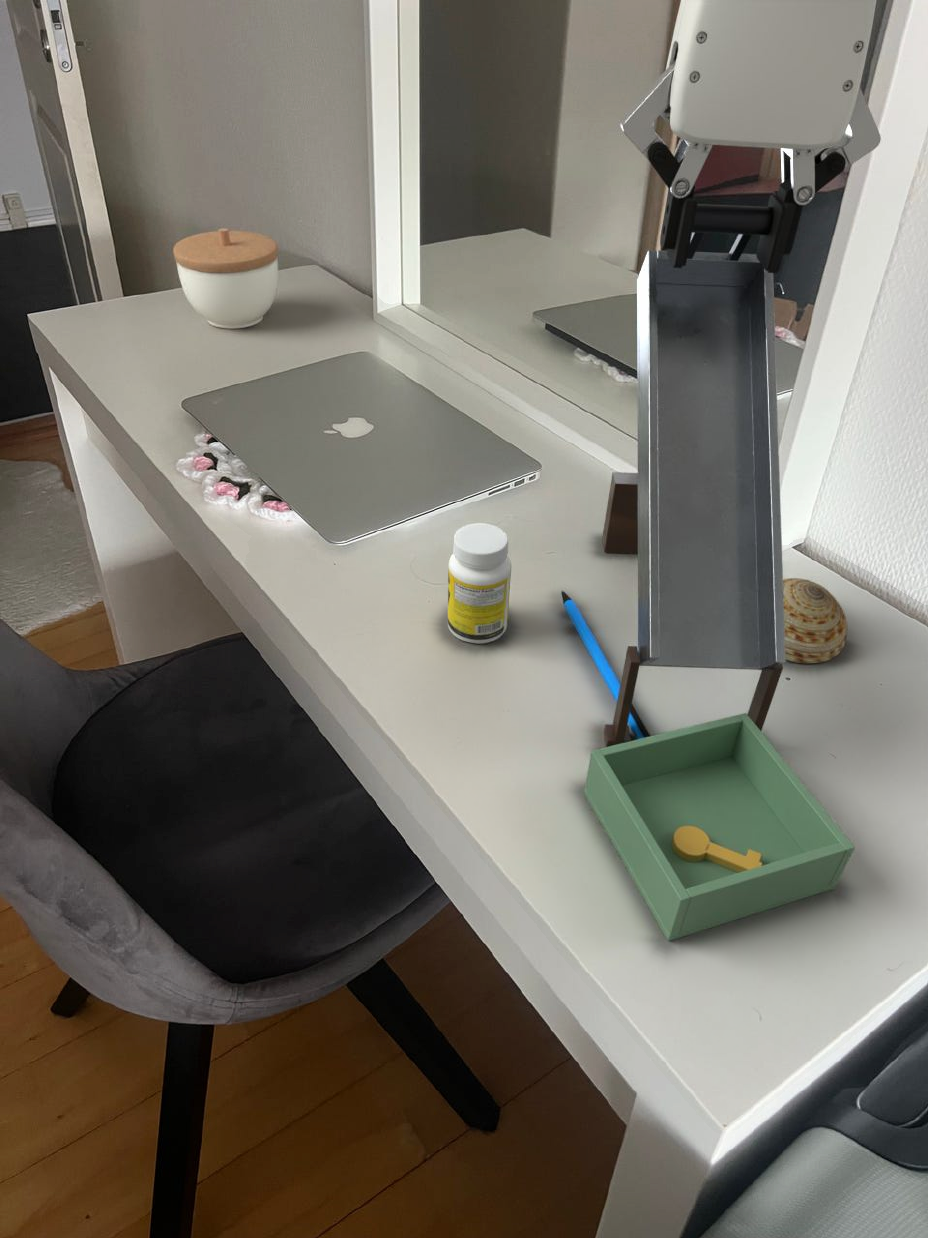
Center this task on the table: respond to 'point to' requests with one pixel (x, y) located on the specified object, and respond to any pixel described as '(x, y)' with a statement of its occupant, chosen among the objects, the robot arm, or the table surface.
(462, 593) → the supplement bottle
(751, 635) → the trough
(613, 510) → the stand
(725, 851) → the key
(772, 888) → the bin
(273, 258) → the lidded bowl
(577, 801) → the table surface
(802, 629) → the seashell
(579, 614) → the pen
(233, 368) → the table surface
